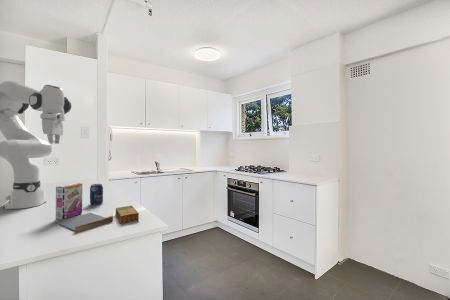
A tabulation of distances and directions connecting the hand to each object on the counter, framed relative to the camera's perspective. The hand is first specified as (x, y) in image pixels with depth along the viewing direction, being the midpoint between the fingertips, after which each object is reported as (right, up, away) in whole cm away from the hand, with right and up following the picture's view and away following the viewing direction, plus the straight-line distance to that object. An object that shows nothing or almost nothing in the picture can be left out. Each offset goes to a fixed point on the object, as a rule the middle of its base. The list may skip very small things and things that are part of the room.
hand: (54, 143), depth 114 cm
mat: (+21, -38, -9) cm, 44 cm away
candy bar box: (+9, -38, -2) cm, 39 cm away
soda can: (+9, -37, +22) cm, 44 cm away
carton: (+39, -38, -2) cm, 54 cm away
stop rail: (+30, -38, -14) cm, 50 cm away
